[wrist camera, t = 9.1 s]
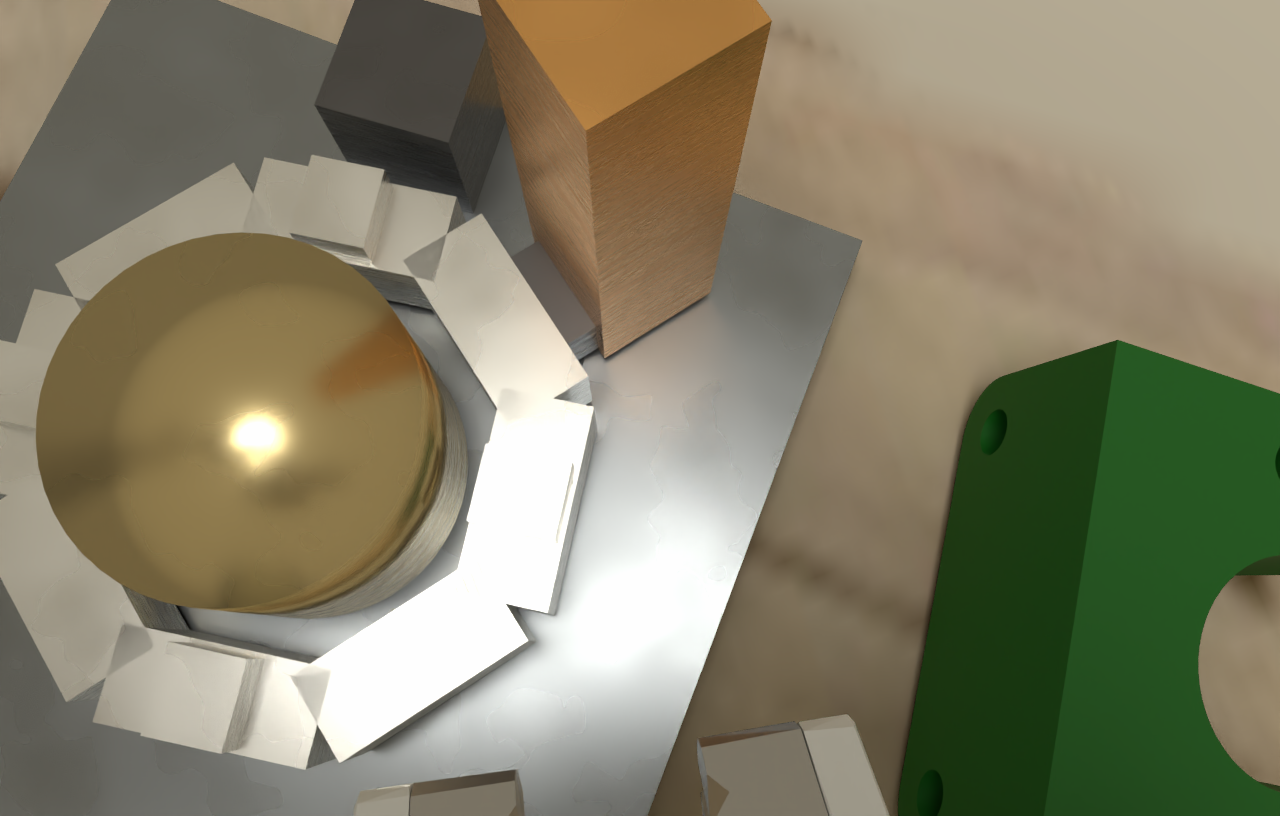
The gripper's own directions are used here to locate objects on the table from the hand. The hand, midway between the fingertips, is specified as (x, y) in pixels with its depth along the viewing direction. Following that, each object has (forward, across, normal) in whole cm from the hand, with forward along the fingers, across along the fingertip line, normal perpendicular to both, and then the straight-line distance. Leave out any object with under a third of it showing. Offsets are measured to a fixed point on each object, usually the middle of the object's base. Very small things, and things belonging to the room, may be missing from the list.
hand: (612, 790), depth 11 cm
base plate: (+16, +6, +7) cm, 19 cm away
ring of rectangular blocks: (+15, +4, +5) cm, 17 cm away
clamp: (+11, -11, +12) cm, 20 cm away
